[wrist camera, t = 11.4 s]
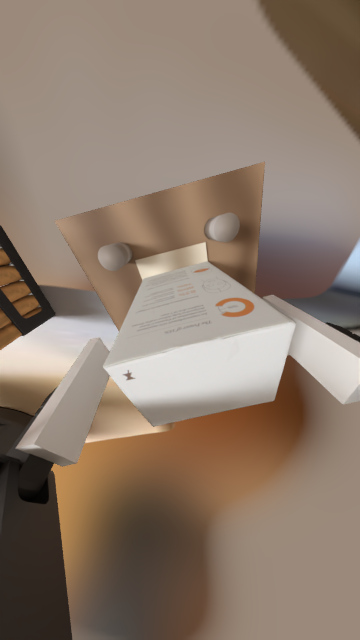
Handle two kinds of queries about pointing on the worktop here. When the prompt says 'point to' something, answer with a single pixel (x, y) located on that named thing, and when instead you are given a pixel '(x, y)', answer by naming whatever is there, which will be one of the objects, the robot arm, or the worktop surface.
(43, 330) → the worktop surface
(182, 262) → the stub base plate
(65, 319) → the worktop surface
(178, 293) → the small box
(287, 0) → the worktop surface
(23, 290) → the ammunition clip
